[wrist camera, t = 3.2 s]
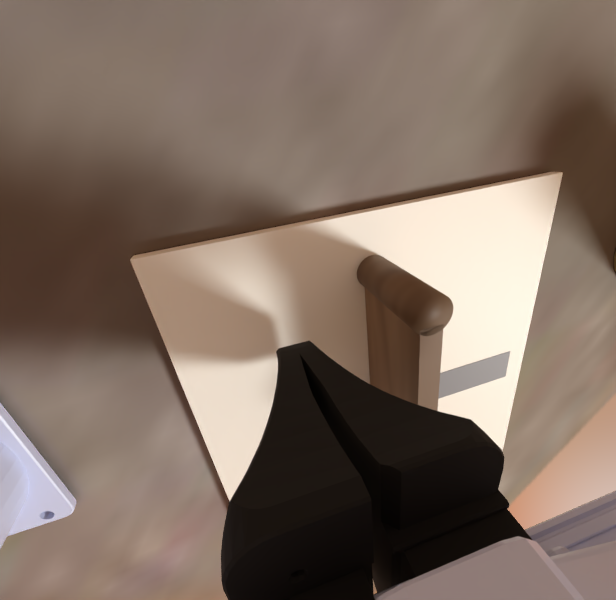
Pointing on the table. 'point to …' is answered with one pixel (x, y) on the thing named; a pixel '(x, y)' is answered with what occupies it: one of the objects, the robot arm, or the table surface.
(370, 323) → the fence gate
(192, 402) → the card
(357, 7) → the table surface
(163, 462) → the table surface
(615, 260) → the cork
